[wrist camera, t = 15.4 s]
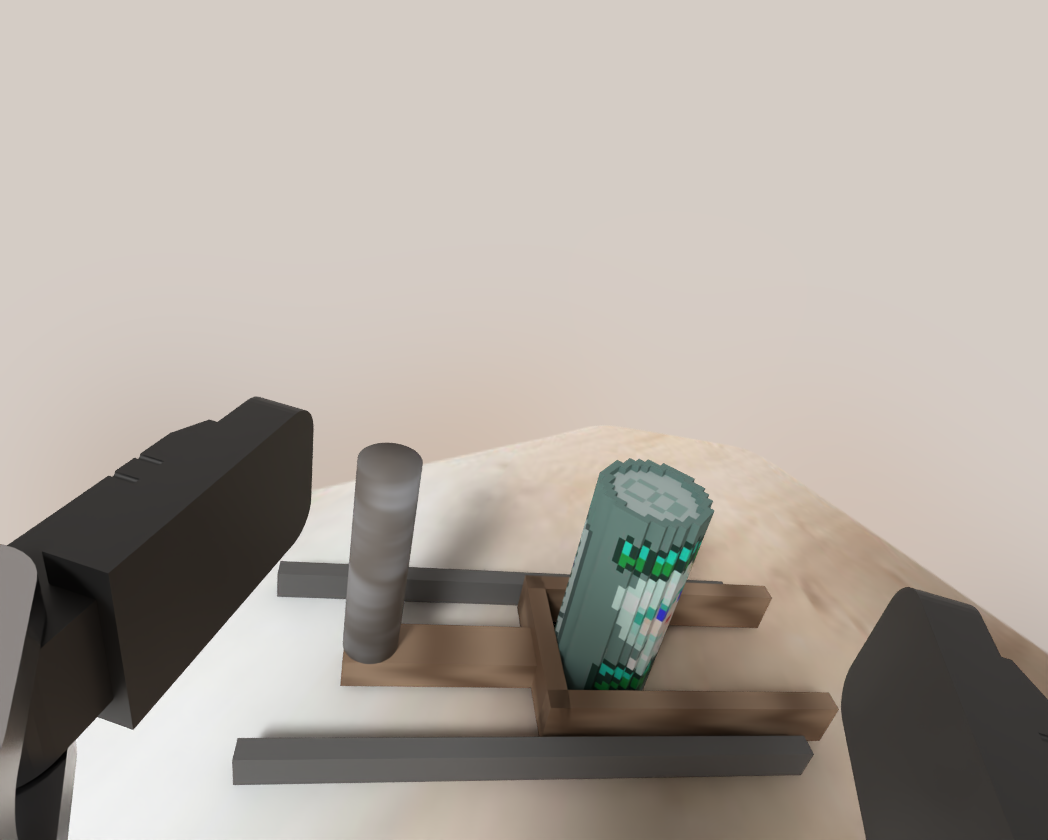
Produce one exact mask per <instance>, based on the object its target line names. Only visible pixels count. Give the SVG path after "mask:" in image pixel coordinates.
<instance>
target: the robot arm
mask: <svg viewBox="0 0 1048 840" xmlns="http://www.w3.org/2000/svg"><path fill="white" fill-rule="evenodd" d="M312 455H313V419H312V416H311V414H310V413H309V412H308V411H306V410H302V409H299V408H295V407H292V406H289V405H285V404H282V403H278V402H275V401H271V400H268V399H264V398H261V397H253V398H250V399H249V400H247V401H246V402H244V403H243V404H242V405H240V406H239V407H238V408H236V409H235V410H233V411H232V412H231V413H229V414H228V415H227V416H225V417H224V418H223V419H221V420H220V421H218V422H215V421H212V420H207V421H204V422H201V423H198V424H195V425H193V426H190V427H186V428H184V429H181V430H178V431H175V432H172V433H170V434H168V435H167V436H165V437H164V438H163V439H161V440H160V441H158V442H157V443H155V444H154V445H153V446H151V447H149V448H148V449H146V450H145V451H144V452H142V453H141V454H140V457H139V459H136V458H133V459H132V460H130V461H129V462H128V463H126V464H125V465H123V466H122V467H120V468H119V469H117V470H116V471H115V474H114V476H113V477H111V476H107V477H106V478H104V479H103V480H101V481H100V482H99V483H97V484H96V485H94V486H93V487H91V488H90V489H88V490H87V491H85V492H84V493H83V494H81V495H80V496H78V497H77V498H75V499H74V500H73V501H71V502H70V503H68V504H67V505H66V506H64V507H63V508H61V509H59V510H58V511H57V512H55V513H54V514H52V515H51V516H49V517H48V518H46V519H45V520H43V521H42V522H41V523H39V524H38V525H36V526H35V527H33V528H32V529H30V530H29V531H27V532H26V533H25V534H23V535H22V536H20V537H19V538H17V539H16V540H14V541H13V542H12V543H10V544H9V545H7V546H6V545H2V544H0V840H68V831H69V822H70V813H71V804H72V795H73V785H74V776H75V767H76V758H77V746H76V742H75V740H76V739H77V738H78V737H79V736H80V735H81V734H82V733H83V732H84V730H85V729H86V728H87V727H88V726H89V725H90V724H91V723H92V722H93V721H94V720H95V719H96V718H97V717H99V718H102V719H105V720H107V721H110V722H113V723H116V724H118V725H121V726H124V727H127V728H129V729H132V730H133V729H134V728H135V727H136V726H137V725H138V724H139V723H140V721H141V720H142V719H143V718H144V717H145V716H146V714H147V713H148V712H149V711H150V710H151V709H152V707H153V706H154V705H155V704H156V703H157V702H158V701H159V699H160V698H161V697H162V696H163V695H164V694H165V692H166V691H167V690H168V689H169V688H170V687H171V685H172V684H173V683H174V682H175V681H176V680H177V678H178V677H179V676H180V675H181V674H182V673H183V672H184V670H185V669H186V668H187V667H188V666H189V665H190V663H191V662H192V661H193V660H194V659H195V658H196V656H197V655H198V654H199V653H200V652H201V651H202V650H203V648H204V647H205V646H206V645H207V644H208V643H209V641H210V640H211V639H212V638H213V637H214V636H215V634H216V633H217V632H218V631H219V630H220V629H221V627H222V626H223V625H224V624H225V623H226V622H227V621H228V619H229V618H230V617H231V616H232V615H233V614H234V612H235V611H236V610H237V609H238V608H239V607H240V605H241V604H242V603H243V602H244V601H245V600H246V599H247V597H248V596H249V595H250V594H251V593H252V592H253V590H254V589H255V588H256V587H257V586H258V585H259V583H260V582H261V581H262V580H263V579H264V578H265V576H266V575H267V574H268V573H269V572H270V571H271V570H272V568H273V567H274V566H275V565H276V564H277V563H278V561H279V560H280V559H281V558H282V557H283V556H284V554H285V553H286V552H287V551H288V550H289V549H290V548H291V546H292V545H293V544H294V543H295V541H296V540H297V538H298V537H299V535H300V533H301V532H302V530H303V527H304V525H305V523H306V520H307V517H308V514H309V510H310V505H311V487H312V486H311V485H312V458H313V456H312ZM841 713H842V721H843V726H844V731H845V736H846V741H847V746H848V751H849V756H850V761H851V766H852V771H853V776H854V781H855V786H856V790H857V795H858V800H859V805H860V810H861V815H862V820H863V825H864V830H865V835H866V840H1048V699H1047V698H1046V697H1045V696H1044V695H1043V694H1042V693H1041V692H1040V691H1039V690H1038V688H1037V687H1036V686H1035V685H1034V684H1033V683H1032V682H1031V681H1030V680H1029V679H1028V677H1027V676H1026V675H1025V674H1024V673H1023V672H1022V671H1021V670H1020V669H1019V668H1018V666H1017V665H1016V664H1015V663H1014V662H1013V661H1012V660H1010V659H1006V658H1003V657H1001V655H1000V653H999V651H998V649H997V647H996V645H995V643H994V641H993V639H992V637H991V635H990V633H989V631H988V629H987V627H986V625H985V623H984V621H983V619H982V617H981V615H980V613H979V611H978V610H977V609H976V608H975V607H973V606H972V605H969V604H965V603H962V602H958V601H955V600H951V599H948V598H945V597H941V596H938V595H934V594H931V593H927V592H924V591H920V590H917V589H914V588H910V587H905V588H903V589H901V590H899V591H898V592H897V593H896V594H895V595H894V597H893V598H892V599H891V601H890V603H889V604H888V606H887V608H886V609H885V611H884V613H883V614H882V616H881V618H880V619H879V621H878V622H877V624H876V626H875V627H874V629H873V631H872V632H871V634H870V636H869V637H868V639H867V641H866V642H865V644H864V646H863V647H862V649H861V650H860V652H859V654H858V655H857V657H856V659H855V660H854V662H853V664H852V665H851V667H850V669H849V671H848V674H847V676H846V679H845V682H844V687H843V692H842V700H841Z"/></svg>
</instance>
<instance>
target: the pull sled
mask: <svg viewBox="0 0 1048 840" xmlns="http://www.w3.org/2000/svg"><path fill="white" fill-rule="evenodd" d="M422 465H423V462H422V458H421V456H420V455H419V454H418V453H417V452H416V451H415V450H413V449H411V448H409V447H407V446H404V445H401V444H396V443H378V444H373V445H371V446H368V447H366V448H364V449H363V450H362V451H361V452H360V453H359V455H358V460H357V472H356V485H355V497H354V510H353V522H352V535H351V547H350V560H349V572H348V585H347V597H346V609H345V622H344V634H343V648H344V652H343V661H342V673H341V685H340V686H404V687H497V688H531V691H532V697H533V703H534V709H535V715H536V721H537V727H538V733H539V737H620V736H804V737H805V739H806V741H819V740H820V739H821V737H822V736H823V734H824V732H825V731H826V729H827V728H828V726H829V724H830V723H831V721H832V720H833V718H834V716H835V715H836V713H837V712H838V710H839V709H838V707H837V706H836V704H835V702H834V701H833V699H832V697H831V696H830V694H829V693H822V692H725V691H627V690H568V689H567V685H566V680H565V676H564V671H563V667H562V662H561V658H560V653H559V649H558V644H557V640H556V635H555V631H554V626H553V622H552V621H557V619H558V615H559V612H560V608H561V605H562V602H563V598H564V595H565V591H566V588H567V584H568V581H569V577H553V576H531V575H525V578H524V582H523V586H522V590H521V594H520V598H519V602H518V607H517V608H518V614H519V620H520V626H521V627H495V626H461V625H427V624H401V619H402V612H403V604H404V597H405V590H406V582H407V575H408V568H409V560H410V553H411V546H412V538H413V531H414V524H415V516H416V509H417V502H418V494H419V487H420V480H421V472H422ZM771 599H772V597H771V596H770V594H769V592H768V591H767V589H766V587H765V586H751V585H729V584H707V583H685V585H684V588H683V590H682V593H681V595H680V598H679V600H678V603H677V605H676V608H675V610H674V613H673V615H672V618H671V620H670V623H669V625H686V626H717V627H749V628H758V626H759V624H760V622H761V619H762V617H763V615H764V613H765V611H766V609H767V607H768V605H769V603H770V601H771Z"/></svg>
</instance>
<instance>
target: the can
mask: <svg viewBox="0 0 1048 840" xmlns="http://www.w3.org/2000/svg"><path fill="white" fill-rule="evenodd" d="M694 480H695V479H694V478H692V477H690V476H688V475H686V474H684V473H682V472H680V471H678V470H676V469H674V468H672V467H670V466H668V465H666V464H664V463H663V464H662V465H661V466H660V465H658V464H656V463H654V462H652V461H650V460H647V461H646V462H644V461H642V460H640V459H638V460H637V461H634V460H632V459H630V458H629V459H628V460H627V461H625V462H624V463H622V462H620V461H618V460H616V461H615V462H614V463H612V464H611V465H610V466H608V467H607V468H606V469H604V470H603V471H602V472H600V474H599V477H598V481H597V484H596V488H595V491H594V495H593V498H592V501H591V505H590V508H589V512H588V515H587V519H586V522H585V526H584V529H583V533H582V536H581V539H580V543H579V546H578V550H577V553H576V557H575V560H574V564H573V567H572V570H571V574H570V577H569V581H568V584H567V588H566V591H565V595H564V598H563V602H562V605H561V608H560V612H559V615H558V619H557V622H556V626H555V629H554V631H555V635H556V640H557V644H558V649H559V653H560V658H561V662H562V667H563V671H564V676H565V680H566V685H567V689H568V690H627V691H642V690H643V687H644V685H645V682H646V680H647V677H648V675H649V672H650V670H651V667H652V665H653V662H654V660H655V657H656V655H657V652H658V650H659V647H660V645H661V642H662V640H663V637H664V635H665V632H666V630H667V628H668V625H669V623H670V620H671V618H672V615H673V613H674V610H675V608H676V605H677V603H678V600H679V598H680V595H681V593H682V590H683V588H684V585H685V583H686V580H687V578H688V575H689V573H690V570H691V568H692V565H693V563H694V560H695V558H696V555H697V553H698V550H699V548H700V545H701V543H702V540H703V538H704V535H705V533H706V530H707V528H708V525H709V523H710V520H711V518H712V515H713V513H714V510H713V509H711V505H712V502H713V501H712V500H710V499H708V496H709V494H707V493H705V492H704V490H705V488H703V487H702V486H700V485H698V484H696V483H694Z"/></svg>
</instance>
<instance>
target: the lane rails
mask: <svg viewBox="0 0 1048 840" xmlns="http://www.w3.org/2000/svg"><path fill="white" fill-rule="evenodd" d="M348 572H349V564H330V563H309V562H287V561H281V562H280V566H279V570H278V582H277V596H280V597H307V598H335V599H346V597H347V585H348ZM525 575H531V576H553V577H570V575H567V574H546V573H524V572H503V571H481V570H460V569H438V568H417V567H409V568H408V575H407V582H406V590H405V597H404V601H417V602H445V603H473V604H500V605H518V602H519V598H520V594H521V590H522V586H523V582H524V578H525ZM686 583H707V584H723V582H718V581H697V580H686ZM813 755H814V754H813V752H812V750H811V748H810V746H809V744H808V742H807V741H806V739H805V737H804V736H620V737H394V738H238V739H237V743H236V747H235V751H234V756H233V760H232V765H233V785H255V784H312V783H369V782H425V781H482V780H539V779H595V778H652V777H709V776H765V775H801V774H802V772H803V771H804V769H805V767H806V766H807V764H808V763H809V761H810V759H811V758H812V756H813Z"/></svg>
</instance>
